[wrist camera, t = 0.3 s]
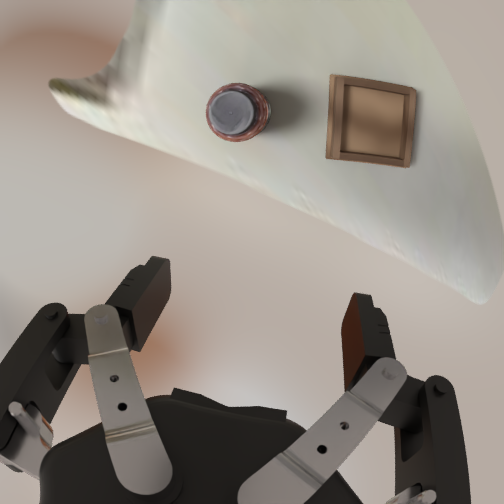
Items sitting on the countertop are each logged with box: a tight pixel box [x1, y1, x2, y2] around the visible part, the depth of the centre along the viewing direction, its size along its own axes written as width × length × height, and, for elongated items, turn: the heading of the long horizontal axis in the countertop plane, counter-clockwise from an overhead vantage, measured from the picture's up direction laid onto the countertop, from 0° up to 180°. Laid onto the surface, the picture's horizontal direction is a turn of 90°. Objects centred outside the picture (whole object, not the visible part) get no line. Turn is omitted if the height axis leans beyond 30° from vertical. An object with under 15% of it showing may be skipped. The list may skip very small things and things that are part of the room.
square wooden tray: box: [325, 74, 416, 168], centre depth 33 cm, size 10×10×3 cm
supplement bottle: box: [206, 83, 271, 142], centre depth 31 cm, size 6×6×11 cm
